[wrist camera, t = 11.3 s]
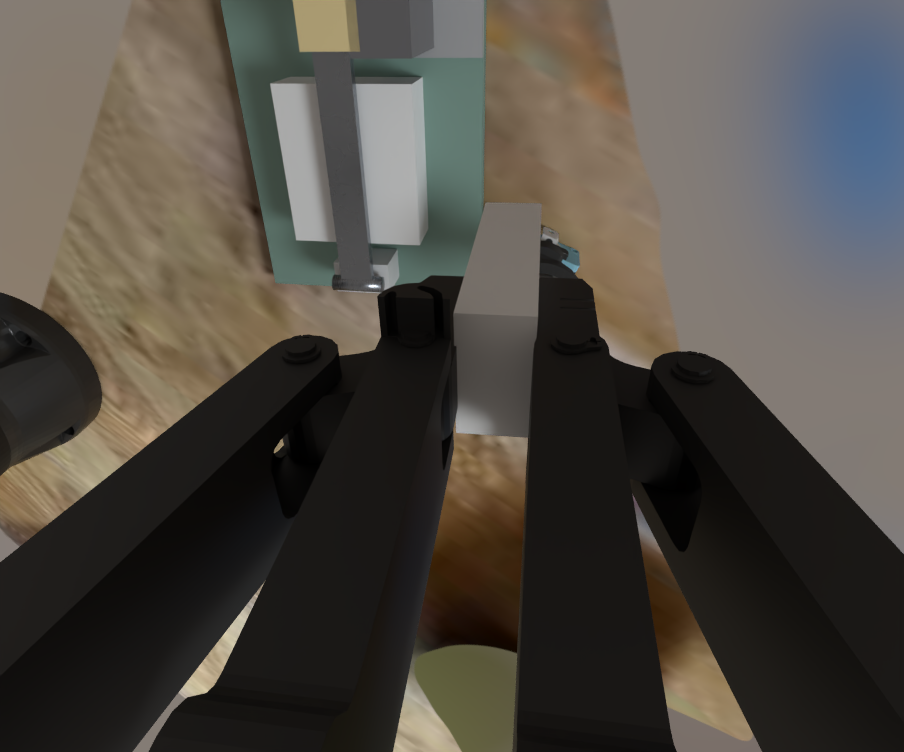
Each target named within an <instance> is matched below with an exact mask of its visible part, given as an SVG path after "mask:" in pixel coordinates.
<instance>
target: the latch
mask: <svg viewBox="0 0 904 752" xmlns="http://www.w3.org/2000/svg"><path fill="white" fill-rule="evenodd" d="M293 6H294V14H295V21H296V28H297V35H298V43H299V50H300V52H350V58H351V59H412V58H414V57H416V56H418V55H420V54H422V53H424V52H426V51H428V50H430V49H432V48H434V23H433V0H293Z"/></svg>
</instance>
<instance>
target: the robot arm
mask: <svg viewBox="0 0 904 752" xmlns="http://www.w3.org/2000/svg"><path fill="white" fill-rule="evenodd" d="M541 205H542V204H541V203H488V202H486V203H485V207H484V210H483V214H482V217H481V221H480V224H479V227H478V231H477V234H476V238H475V241H474V244H473V248H472V251H471V255H470V258H469V262H468V265H467V268H466V272H465V275H464V276H440V275H430V276H429V277H428V278H426V279H425V280H423V281H422V282H420V283H405V284H401V285H396V286H392V287H390V288H388V289H386V290H384V291H382V292H381V293H380V294H379V295H378V296H377V298H378V308H379V318H380V327H381V338H380V340H379V342H378V345H377V347H376V349H375V350H372V351H369V352H364V353H359V354H352V355H344V356H339V352H338V346H337V344H336V343H335V342H334V341H333V340H331V339H328V338H325V337H322V336H313V335H303V336H301V335H299V336H294V337H292V338H290V339H286V340H283V341H281V342H279V343H277V344H276V345H274V346H272V347H271V348H269V349H268V350H267V351H266V352H264V353H263V354H262V355H261V356H259V357H258V358H257V359H256V360H254V361H253V362H252V363H251V364H249V365H248V366H247V367H246V368H244V369H243V370H242V371H241V372H239V373H238V374H237V375H235V376H234V377H233V378H232V379H230V380H229V381H228V382H227V383H225V384H224V385H223V386H222V387H220V388H219V389H218V390H217V391H215V392H214V393H213V394H212V395H210V396H209V397H208V398H207V399H205V400H204V401H203V402H202V403H200V404H199V405H198V406H196V407H195V408H194V409H193V410H191V411H190V412H189V413H188V414H186V415H185V416H184V417H183V418H181V419H180V420H179V421H178V422H176V423H175V424H174V425H173V426H171V427H170V428H169V429H168V430H166V431H165V432H164V433H162V434H161V435H160V436H159V437H157V438H156V439H155V440H154V441H152V442H151V443H150V444H149V445H147V446H146V447H145V448H144V449H142V450H141V451H140V452H139V453H137V454H136V455H135V456H134V457H132V458H131V459H130V460H128V461H127V462H126V463H125V464H123V465H122V466H121V467H120V468H118V469H117V470H116V471H115V472H113V473H112V474H111V475H110V476H108V477H107V478H106V479H105V480H103V481H102V482H101V483H100V484H98V485H97V486H96V487H95V488H93V489H92V490H91V491H89V492H88V493H87V494H86V495H84V496H83V497H82V498H81V499H79V500H78V501H77V502H76V503H74V504H73V505H72V506H71V507H69V508H68V509H67V510H66V511H64V512H63V513H62V514H61V515H59V516H58V517H57V518H55V519H54V520H53V521H52V522H50V523H49V524H48V525H47V526H45V527H44V528H43V529H42V530H40V531H39V532H38V533H37V534H35V535H34V536H33V537H32V538H30V539H29V540H28V541H27V542H25V543H24V544H23V545H21V546H20V547H19V548H18V549H17V550H15V551H14V552H13V553H12V554H10V555H9V556H8V557H6V558H5V559H4V560H3V561H1V562H0V752H132V751H133V750H134V749H135V748H136V746H137V745H138V744H139V742H140V741H141V740H142V739H143V737H144V736H145V735H146V733H147V732H148V731H149V730H150V728H151V727H152V726H153V724H154V723H155V722H156V721H157V719H158V718H159V717H160V715H161V714H162V713H163V712H164V710H165V709H166V708H167V706H168V705H169V704H170V702H171V701H172V700H173V699H174V697H175V696H176V695H177V694H178V692H179V691H180V690H181V688H182V687H183V686H184V685H185V683H186V682H187V681H188V679H189V678H190V677H191V675H192V674H193V673H194V672H195V670H196V669H197V668H198V666H199V665H200V664H201V663H202V661H203V660H204V659H205V657H206V656H207V655H208V654H209V652H210V651H211V650H212V648H213V647H214V646H215V645H216V643H217V642H218V641H219V639H220V638H221V637H222V636H223V634H224V633H225V632H226V630H227V629H228V628H229V627H230V625H231V624H232V623H233V621H234V620H235V619H236V618H237V616H238V615H239V614H240V612H241V611H242V610H243V609H244V607H245V606H246V605H247V603H248V602H249V601H250V599H251V598H252V597H253V596H254V594H255V593H256V592H257V590H258V589H259V588H260V587H261V585H262V584H263V583H264V581H265V580H266V581H265V583H264V585H263V587H262V589H261V591H260V593H259V595H258V598H257V600H256V602H255V604H254V606H253V608H252V610H251V612H250V614H249V616H248V619H247V621H246V623H245V625H244V627H243V629H242V631H241V633H240V635H239V638H238V640H237V642H236V644H235V646H234V648H233V650H232V652H231V654H230V657H229V659H228V661H227V663H226V665H225V667H224V669H223V671H222V673H221V675H220V677H219V678H218V680H217V682H216V684H215V685H214V686H213V687H212V688H211V689H210V690H209V691H208V692H207V693H205V694H200V695H196V696H192V697H187V698H186V699H185V700H184V701H183V702H182V703H181V704H180V705H179V706H178V707H177V708H176V709H174V711H172V713H171V714H170V716H169V718H168V719H167V721H166V722H165V724H164V726H163V727H162V729H161V730H160V732H159V733H158V735H157V736H156V738H155V740H154V742H153V744H152V746H151V748H150V750H149V752H393V748H394V743H395V738H396V733H397V728H398V723H399V718H400V713H401V708H402V703H403V699H404V694H405V689H406V684H407V679H408V674H409V669H410V664H411V659H412V654H413V649H414V644H415V639H416V634H417V629H418V624H419V619H420V614H421V609H422V604H423V599H424V594H425V589H426V584H427V579H428V574H429V569H430V564H431V559H432V554H433V549H434V544H435V539H436V534H437V530H438V525H439V520H440V515H441V510H442V505H443V500H444V495H445V490H446V485H447V480H448V475H449V470H450V465H451V460H452V455H453V450H454V440H453V427H454V423H455V418H456V433H468V434H483V435H497V436H512V437H527V438H528V450H527V466H526V482H525V483H526V490H525V510H524V530H523V550H522V570H521V591H520V611H519V631H518V651H517V672H516V693H515V712H514V733H513V752H677V751H676V749H675V746H674V743H673V739H672V734H671V730H670V723H669V718H668V712H667V705H666V699H665V693H664V686H663V680H662V674H661V668H660V662H659V656H658V649H657V643H656V637H655V631H654V625H653V619H652V612H651V606H650V600H649V594H648V588H647V582H646V575H645V569H644V563H643V557H642V551H641V545H640V538H639V532H638V526H637V520H636V514H635V508H634V501H633V495H634V497H635V499H636V501H637V503H638V505H639V507H640V509H641V511H642V513H643V515H644V517H645V519H646V521H647V523H648V525H649V527H650V529H651V531H652V533H653V535H654V537H655V539H656V541H657V543H658V545H659V547H660V549H661V551H662V553H663V555H664V557H665V559H666V561H667V563H668V565H669V567H670V569H671V571H672V573H673V575H674V577H675V579H676V581H677V583H678V585H679V587H680V589H681V591H682V593H683V595H684V597H685V599H686V601H687V603H688V605H689V607H690V609H691V611H692V613H693V615H694V617H695V619H696V621H697V623H698V625H699V627H700V629H701V631H702V633H703V635H704V637H705V639H706V641H707V643H708V645H709V647H710V649H711V651H712V653H713V655H714V657H715V659H716V661H717V663H718V665H719V667H720V669H721V671H722V673H723V675H724V676H725V678H726V680H727V682H728V684H729V686H730V688H731V690H732V692H733V694H734V696H735V698H736V700H737V702H738V704H739V706H740V708H741V710H742V712H743V714H744V716H745V718H746V720H747V722H748V724H749V726H750V728H751V730H752V732H753V734H754V736H755V738H756V740H757V742H758V744H759V746H760V748H761V750H762V752H904V554H903V553H902V552H901V551H900V550H899V549H898V548H897V547H896V545H895V544H894V543H893V542H892V541H891V540H890V539H889V538H888V537H887V536H886V535H885V534H884V533H883V532H882V530H881V529H880V528H879V527H878V526H877V525H876V524H875V523H874V522H873V521H872V520H871V519H870V518H869V517H868V516H867V514H866V513H865V512H864V511H863V510H862V509H861V508H860V507H859V506H858V505H857V504H856V503H855V501H854V500H853V499H852V498H851V497H850V496H849V495H848V494H847V493H846V492H845V491H844V490H843V489H842V488H841V486H840V485H839V484H838V483H837V482H836V481H835V480H834V479H833V478H832V477H831V476H830V475H829V474H828V472H827V471H826V470H825V469H824V468H823V467H822V466H821V465H820V464H819V463H818V462H817V461H816V460H815V459H814V458H813V456H812V455H811V454H810V453H809V452H808V451H807V450H806V449H805V448H804V447H803V446H802V445H801V443H799V441H798V440H797V439H796V438H795V437H794V436H793V435H792V434H791V433H790V432H789V431H788V430H787V428H786V427H785V426H784V425H783V424H782V423H781V422H780V421H779V420H778V419H777V418H776V417H775V416H774V415H773V414H772V412H771V411H770V410H769V409H768V408H767V407H766V406H765V405H764V404H763V403H762V402H761V401H760V399H759V398H758V397H757V396H756V395H755V394H754V393H753V392H752V391H751V390H750V389H749V388H748V387H747V386H746V385H745V383H744V382H743V381H742V380H741V379H740V378H739V377H738V376H737V375H736V374H735V373H734V372H733V371H732V370H731V369H730V368H729V367H728V366H726V365H725V364H724V363H723V362H721V361H719V360H717V359H715V358H712V357H710V356H708V355H706V354H702V353H697V352H691V351H688V352H678V351H676V352H671V353H666V354H662V355H661V356H659V357H657V358H656V359H654V362H653V364H652V366H651V370H650V369H645V368H641V367H637V366H633V365H630V364H626V363H623V362H621V361H619V360H617V359H615V358H613V357H612V356H610V353H609V347H608V345H607V343H606V342H605V340H604V339H603V338H601V337H600V336H599V329H598V322H597V315H596V311H595V302H594V295H593V289H592V288H591V287H590V286H589V285H588V284H587V283H586V282H585V281H584V280H583V279H574V278H545V277H539V268H540V237H541ZM101 402H102V391H101V385H100V381H99V378H98V375H97V372H96V370H95V368H94V366H93V364H92V362H91V361H90V359H89V357H88V356H87V354H86V353H85V351H84V350H83V349H82V347H81V346H80V345H79V344H78V342H77V341H76V340H75V339H74V338H73V337H72V336H71V335H70V334H69V333H68V332H67V331H66V330H65V329H64V328H63V327H62V326H61V325H60V324H58V323H57V322H56V321H55V320H53V319H52V318H51V317H49V316H48V315H47V314H45V313H44V312H42V311H41V310H39V309H37V308H36V307H34V306H32V305H30V304H28V303H26V302H24V301H22V300H20V299H17V298H15V297H13V296H9V295H7V294H4V293H0V475H2V474H3V473H4V472H5V471H6V470H7V469H9V468H10V467H12V466H14V465H16V464H19V463H21V462H23V461H25V460H28V459H30V458H32V457H34V456H37V455H39V454H41V453H43V452H46V451H48V450H50V449H52V448H55V447H57V446H59V445H62V444H64V443H66V442H68V441H70V440H71V439H73V438H74V437H76V436H77V435H78V434H79V433H80V432H82V431H83V430H84V429H85V428H86V427H87V426H88V425H89V424H90V423H91V422H92V421H93V420H94V419H95V418H96V416H97V415H98V413H99V410H100V407H101ZM282 438H283V443H284V446H283V447H282V448H281V449H280V450H279V451H278V452H276V453H275V454H274V449H275V447H276V446H277V444H278V443H279V442H280V440H281V439H282ZM632 493H633V495H632Z"/></svg>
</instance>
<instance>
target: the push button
mask: <svg viewBox="0 0 904 752" xmlns="http://www.w3.org/2000/svg"><path fill="white" fill-rule="evenodd" d="M548 231H550V232H552V233H553V234H551V233H549V232H548ZM558 239H559V233H557V232H556V231H554V230H552V229H549V228H547V227H543V235H541V237H540V268H539V277H545V278H574V279H578V278H577V276H576V275H575V273H576V271H577V269H578V267H579V266H580V261H579V252H578V251H577V250H575V249H573V248H571V247H568V246H565V245H563V244H561V243H559V242H558V241H559V240H558Z"/></svg>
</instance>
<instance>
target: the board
mask: <svg viewBox="0 0 904 752" xmlns="http://www.w3.org/2000/svg"><path fill="white" fill-rule="evenodd" d="M220 1H221V7H222V12H223V17H224V22H225V27H226V32H227V37H228V42H229V47H230V52H231V58H232V63H233V68H234V73H235V78H236V83H237V88H238V93H239V98H240V103H241V109H242V114H243V119H244V124H245V129H246V134H247V139H248V144H249V149H250V155H251V160H252V165H253V170H254V175H255V180H256V185H257V190H258V195H259V200H260V206H261V211H262V216H263V221H264V226H265V231H266V236H267V241H268V246H269V252H270V257H271V262H272V267H273V272H274V277H275V282H276V283H284V284H304V285H323V286H332V277H333V275H334V274H337V275H341V273H340V265H339V257H338V250H337V242H336V234H335V227H334V219H333V211H332V204H331V196H330V188H329V181H328V173H327V165H326V158H325V150H324V142H323V135H322V127H321V119H320V112H319V104H318V96H317V89H316V81H315V73H314V66H313V58H312V52H300V50H299V43H298V35H297V28H296V21H295V14H294V6H293V0H220ZM433 23H434V48H432V49H430V50H428V51H426V52H424V53H422V54H420V55H418V56H416V57H414V58H412V59H353V62H354V72H355V82H356V93H357V103H358V113H359V124H360V134H361V145H362V155H363V165H364V176H365V186H366V196H367V207H368V217H369V228H370V238H371V248H372V259H373V269H374V276H378V277H384V281H385V287H384V290H386V289H388V288H390V287H392V286H396V285H401V284H405V283H420V282H422V281H423V280H425V279H426V278H428V277H429V276H430V275H440V276H464V275H465V272H466V268H467V265H468V262H469V258H470V255H471V251H472V248H473V244H474V241H475V238H476V234H477V231H478V227H479V224H480V221H481V217H482V214H483V198H484V130H485V61H486V0H433ZM337 291H344V290H337ZM348 292H363V291H348ZM367 293H381V292H367Z"/></svg>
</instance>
